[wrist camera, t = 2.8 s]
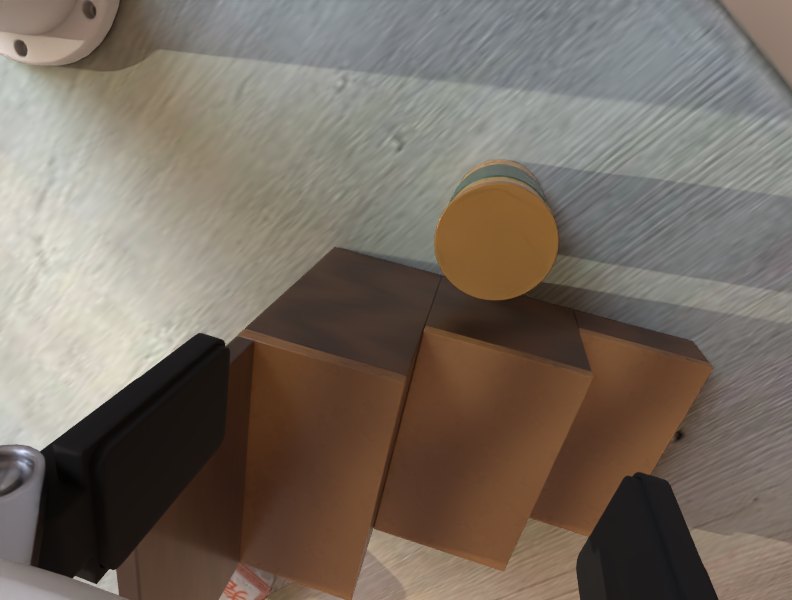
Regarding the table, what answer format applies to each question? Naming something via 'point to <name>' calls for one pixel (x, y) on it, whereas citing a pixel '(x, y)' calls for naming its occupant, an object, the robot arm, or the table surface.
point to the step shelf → (412, 429)
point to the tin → (497, 233)
